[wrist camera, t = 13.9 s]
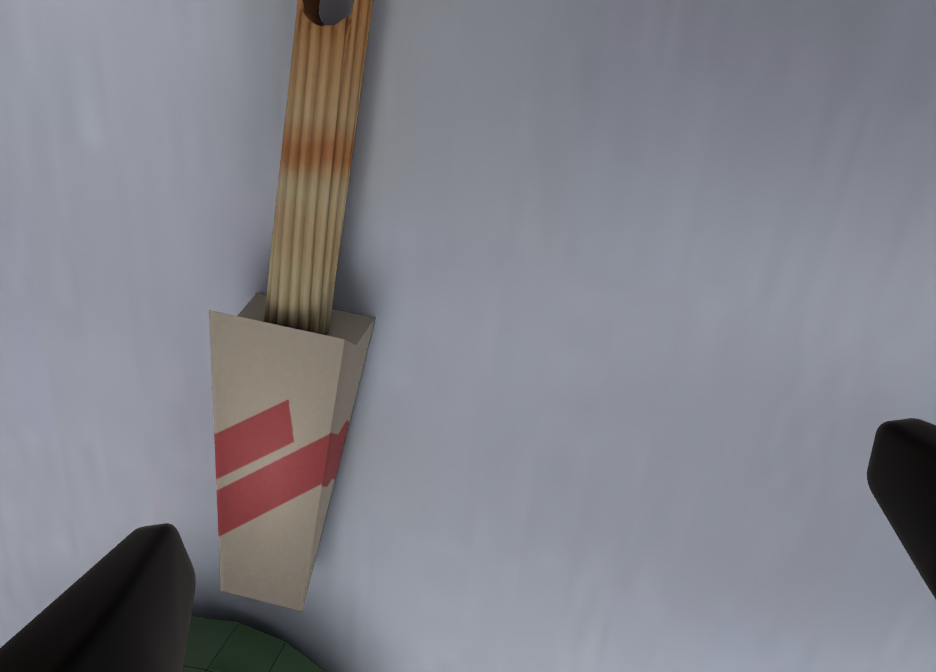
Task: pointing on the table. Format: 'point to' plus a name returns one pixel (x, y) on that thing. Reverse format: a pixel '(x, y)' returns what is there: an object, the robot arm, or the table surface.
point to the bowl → (239, 650)
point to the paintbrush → (293, 335)
